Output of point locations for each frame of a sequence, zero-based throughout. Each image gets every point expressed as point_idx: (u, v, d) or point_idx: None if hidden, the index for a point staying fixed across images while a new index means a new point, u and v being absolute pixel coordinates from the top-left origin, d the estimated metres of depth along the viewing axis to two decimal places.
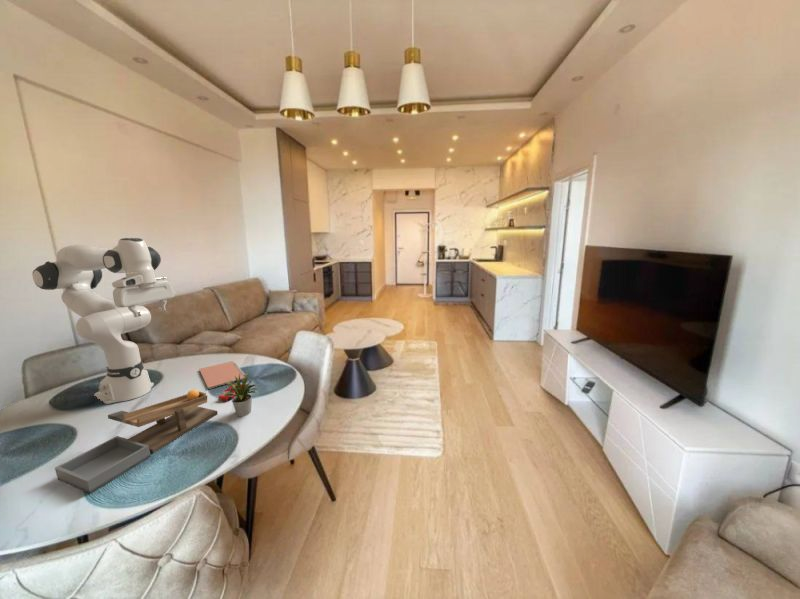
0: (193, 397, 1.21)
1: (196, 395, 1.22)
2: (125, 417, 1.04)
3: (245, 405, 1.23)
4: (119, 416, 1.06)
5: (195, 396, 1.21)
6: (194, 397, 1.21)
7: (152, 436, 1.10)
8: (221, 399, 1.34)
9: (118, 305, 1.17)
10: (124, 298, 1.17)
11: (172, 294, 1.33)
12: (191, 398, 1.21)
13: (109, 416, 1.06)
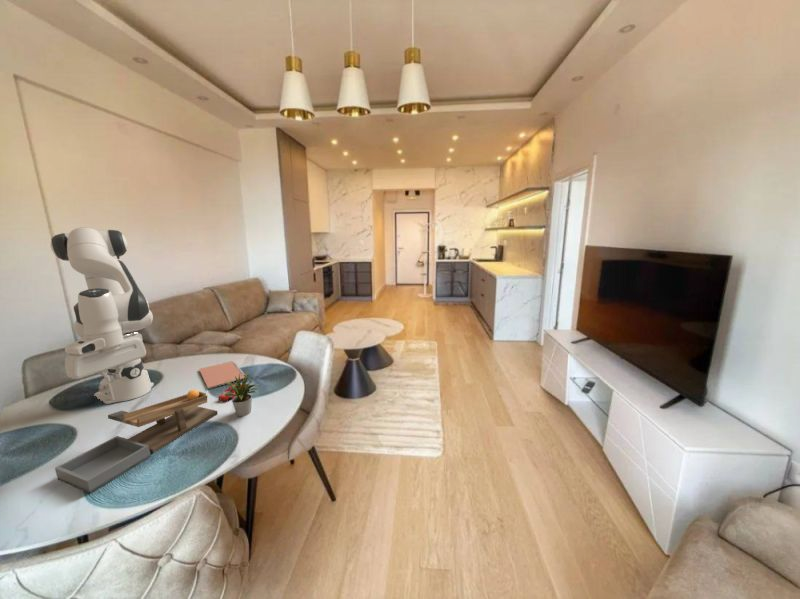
0: (193, 397, 1.21)
1: (196, 395, 1.22)
2: (125, 417, 1.04)
3: (245, 405, 1.23)
4: (119, 416, 1.06)
5: (195, 396, 1.21)
6: (194, 397, 1.21)
7: (152, 436, 1.10)
8: (221, 399, 1.34)
9: (71, 377, 0.94)
10: (79, 369, 0.94)
11: (143, 353, 1.11)
12: (191, 398, 1.21)
13: (109, 416, 1.06)
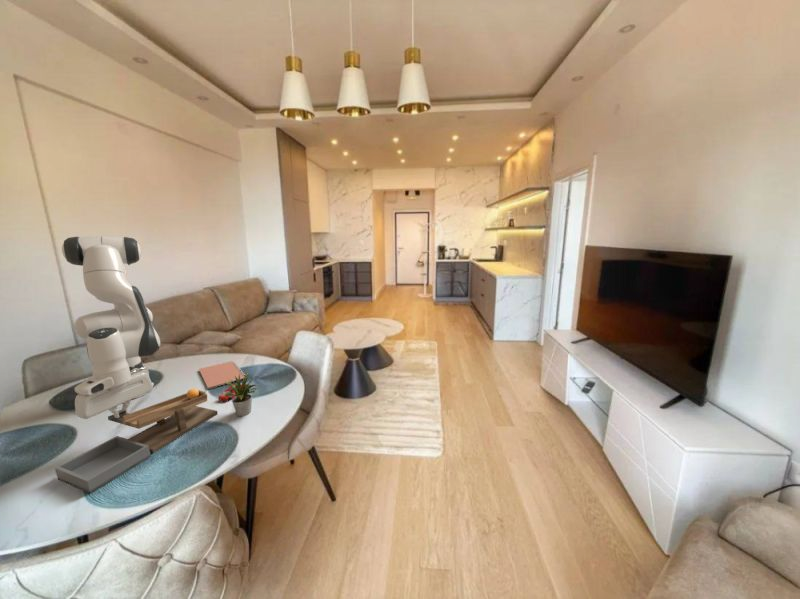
0: (193, 396, 1.21)
1: (196, 394, 1.22)
2: (125, 419, 1.04)
3: (245, 405, 1.23)
4: (119, 418, 1.06)
5: (195, 395, 1.21)
6: (194, 396, 1.21)
7: (152, 436, 1.10)
8: (221, 399, 1.34)
9: (80, 416, 0.96)
10: (88, 408, 0.97)
11: (150, 388, 1.13)
12: (191, 397, 1.21)
13: (109, 418, 1.06)
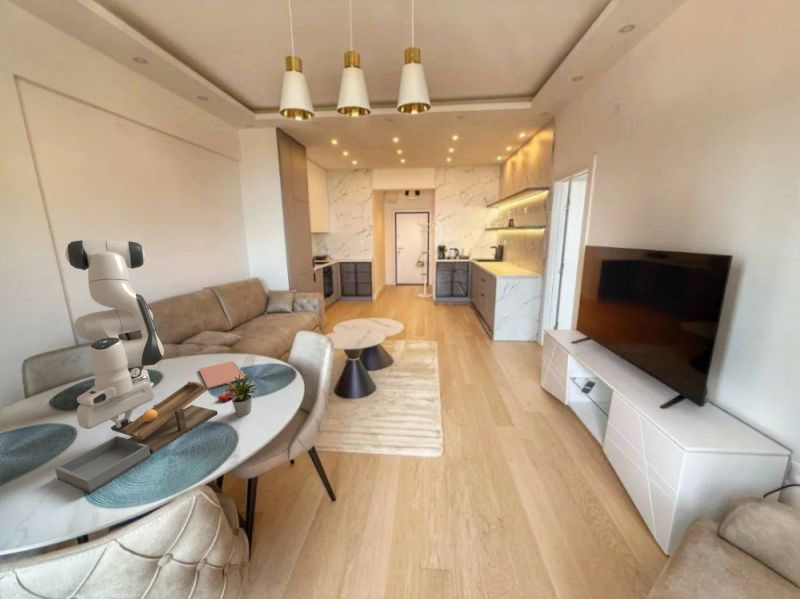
0: (154, 419, 1.08)
1: (153, 417, 1.07)
2: (127, 430, 1.05)
3: (245, 405, 1.23)
4: (121, 428, 1.06)
5: (154, 417, 1.08)
6: (154, 418, 1.08)
7: (152, 436, 1.10)
8: (221, 399, 1.34)
9: (82, 427, 0.97)
10: (90, 419, 0.97)
11: (151, 396, 1.14)
12: (154, 419, 1.08)
13: (112, 428, 1.07)
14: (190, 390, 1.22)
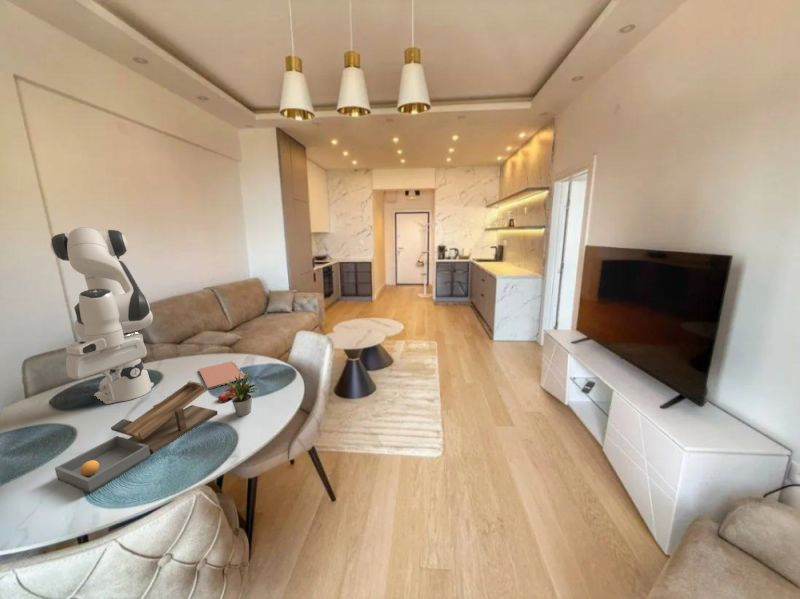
0: (90, 467, 0.92)
1: (94, 468, 0.93)
2: (127, 430, 1.05)
3: (245, 405, 1.23)
4: (121, 428, 1.06)
5: (92, 468, 0.92)
6: (90, 468, 0.92)
7: (152, 436, 1.10)
8: (220, 399, 1.34)
9: (71, 377, 0.94)
10: (79, 369, 0.95)
11: (144, 353, 1.11)
12: (87, 466, 0.92)
13: (112, 428, 1.07)
14: (190, 390, 1.22)
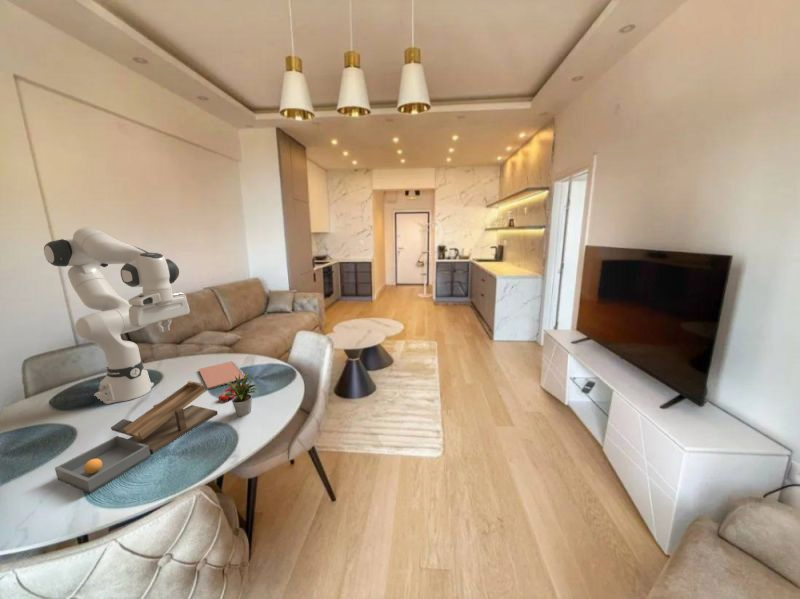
0: (95, 464, 0.93)
1: (97, 467, 0.93)
2: (127, 430, 1.05)
3: (245, 405, 1.23)
4: (121, 428, 1.06)
5: (96, 466, 0.93)
6: (95, 465, 0.93)
7: (152, 436, 1.10)
8: (221, 399, 1.34)
9: (133, 324, 1.12)
10: (140, 318, 1.13)
11: (187, 311, 1.29)
12: (93, 462, 0.93)
13: (112, 428, 1.07)
14: (190, 390, 1.22)
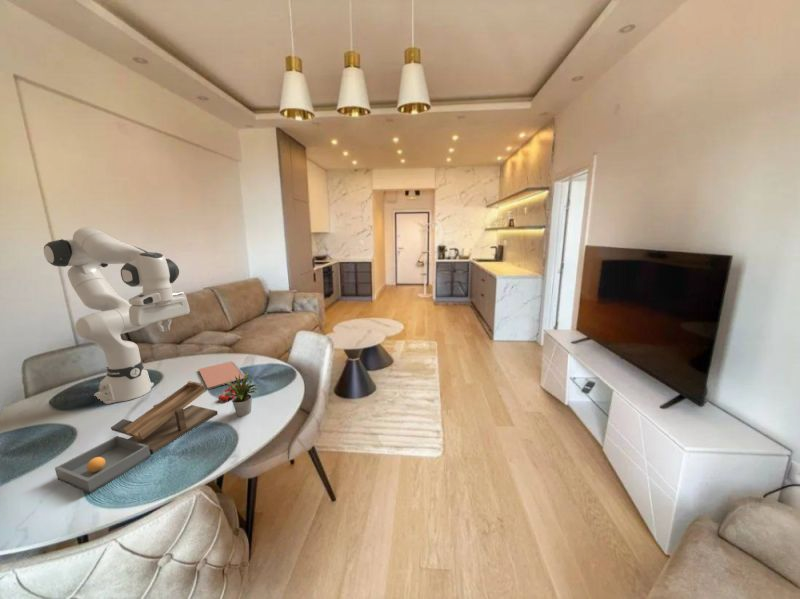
0: (100, 461, 0.94)
1: (100, 465, 0.94)
2: (127, 430, 1.05)
3: (245, 405, 1.23)
4: (121, 428, 1.06)
5: (100, 464, 0.94)
6: (99, 462, 0.94)
7: (152, 436, 1.10)
8: (221, 399, 1.34)
9: (134, 324, 1.13)
10: (140, 317, 1.13)
11: (187, 310, 1.29)
12: (98, 459, 0.94)
13: (112, 428, 1.07)
14: (190, 390, 1.22)
